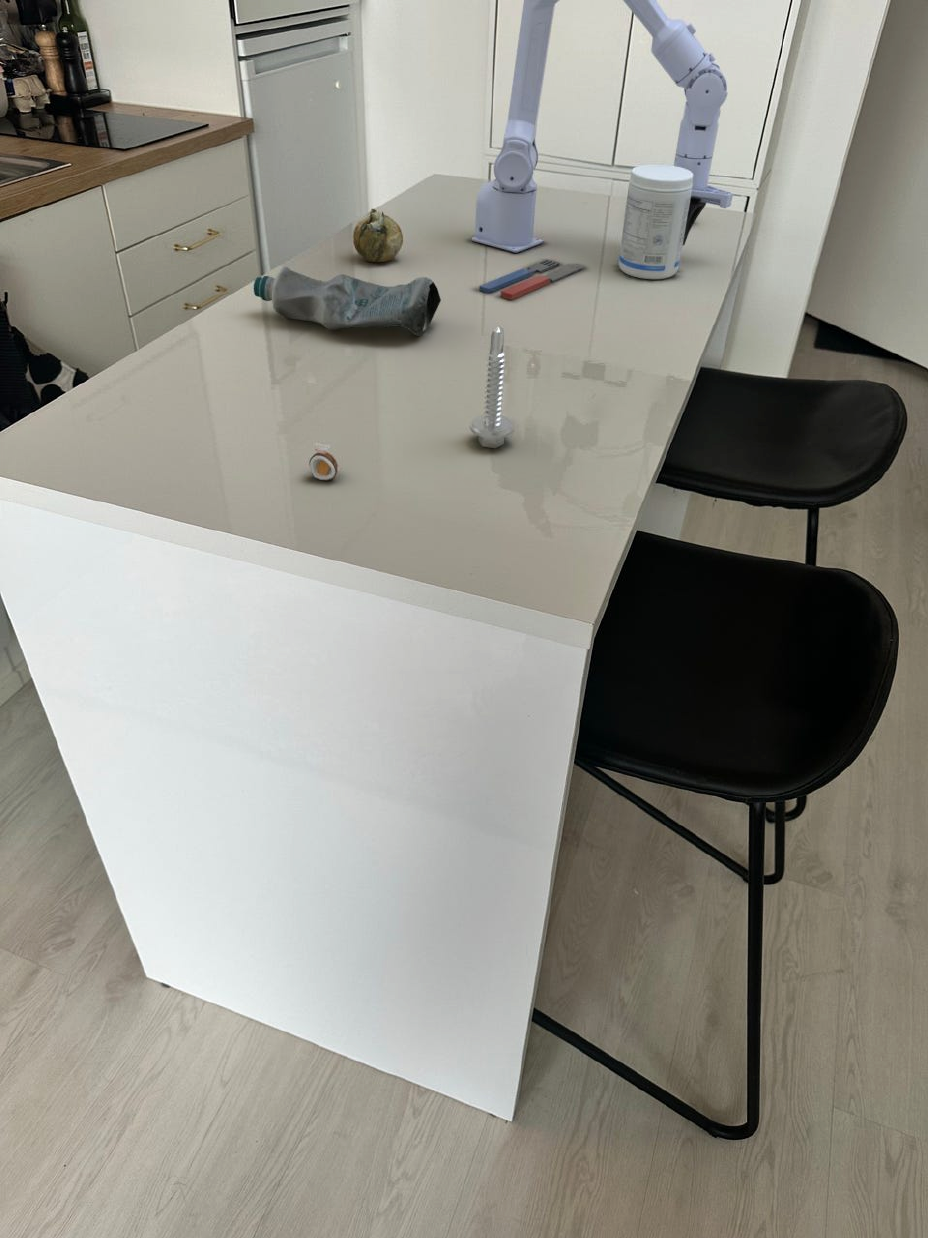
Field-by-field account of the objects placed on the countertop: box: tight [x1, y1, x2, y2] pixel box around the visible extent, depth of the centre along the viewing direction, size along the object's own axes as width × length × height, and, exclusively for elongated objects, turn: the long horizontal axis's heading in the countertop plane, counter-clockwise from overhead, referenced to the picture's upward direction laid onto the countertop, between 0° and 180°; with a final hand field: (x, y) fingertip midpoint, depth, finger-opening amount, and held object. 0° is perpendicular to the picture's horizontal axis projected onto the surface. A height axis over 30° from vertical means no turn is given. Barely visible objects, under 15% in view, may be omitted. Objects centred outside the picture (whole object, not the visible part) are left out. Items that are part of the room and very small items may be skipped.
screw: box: [469, 325, 516, 449], centre depth 96 cm, size 13×5×5 cm
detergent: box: [253, 266, 442, 337], centre depth 123 cm, size 13×7×25 cm
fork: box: [478, 258, 560, 294], centre depth 142 cm, size 18×2×1 cm, turn 142°
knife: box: [500, 263, 584, 301], centre depth 141 cm, size 20×2×1 cm, turn 142°
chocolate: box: [308, 440, 339, 481], centre depth 92 cm, size 3×2×4 cm
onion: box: [352, 208, 404, 263], centre depth 144 cm, size 8×8×8 cm
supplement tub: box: [618, 163, 693, 280], centre depth 142 cm, size 10×10×15 cm
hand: (678, 245), depth 152 cm, fingers closed
